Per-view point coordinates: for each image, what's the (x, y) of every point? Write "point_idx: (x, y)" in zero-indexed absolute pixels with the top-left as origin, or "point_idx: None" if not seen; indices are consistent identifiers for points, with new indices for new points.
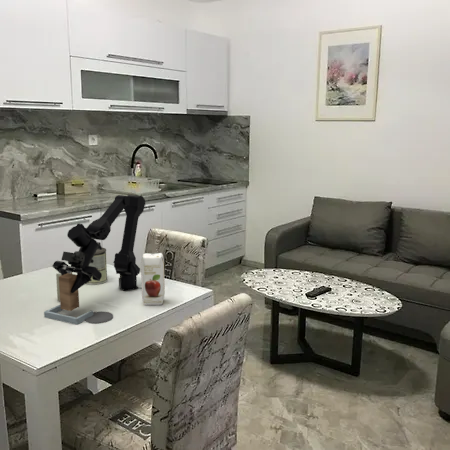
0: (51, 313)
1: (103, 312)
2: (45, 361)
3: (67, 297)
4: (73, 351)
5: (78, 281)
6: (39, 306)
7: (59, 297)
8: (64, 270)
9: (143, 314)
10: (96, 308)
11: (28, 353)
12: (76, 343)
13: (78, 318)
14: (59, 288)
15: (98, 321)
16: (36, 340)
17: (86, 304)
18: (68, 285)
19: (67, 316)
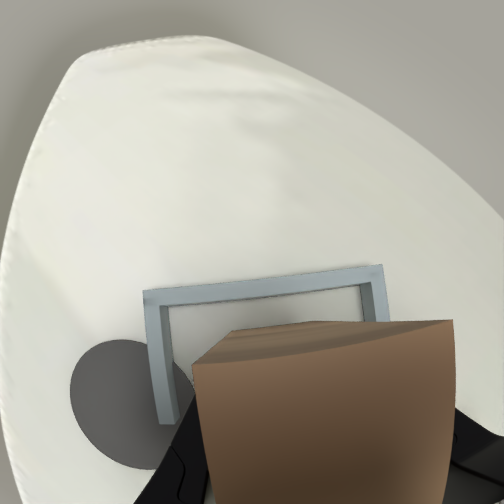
0: (331, 271)
1: (152, 458)
2: (75, 72)
3: (251, 333)
4: (37, 137)
5: (157, 476)
6: (473, 334)
7: None
8: (499, 488)
9: (41, 485)
10: None
11: (142, 60)
12: (50, 171)
13: (144, 305)
14: (364, 322)
15: (88, 363)
16: (185, 104)
17: None
18: (218, 347)
19: (215, 290)
